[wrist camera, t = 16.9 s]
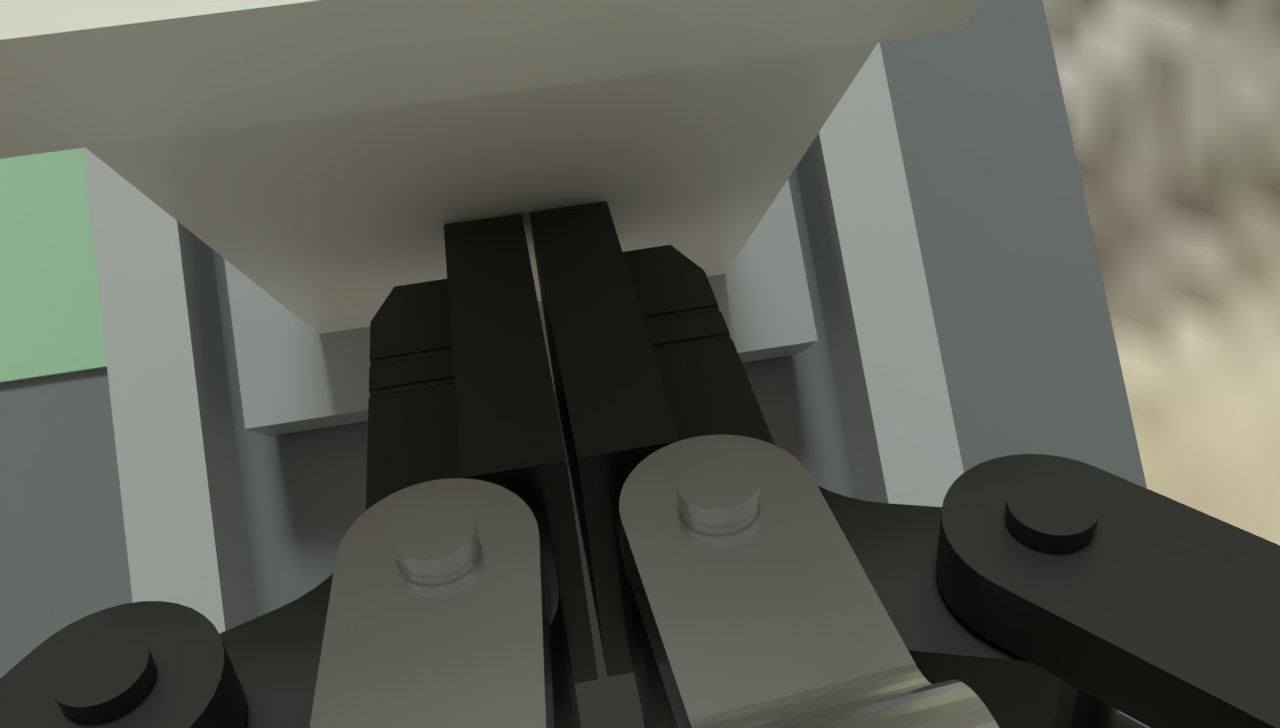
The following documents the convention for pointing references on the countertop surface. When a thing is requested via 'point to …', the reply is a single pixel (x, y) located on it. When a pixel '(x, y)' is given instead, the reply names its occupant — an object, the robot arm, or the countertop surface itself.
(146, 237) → the breaker panel
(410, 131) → the lever
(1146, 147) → the countertop surface
